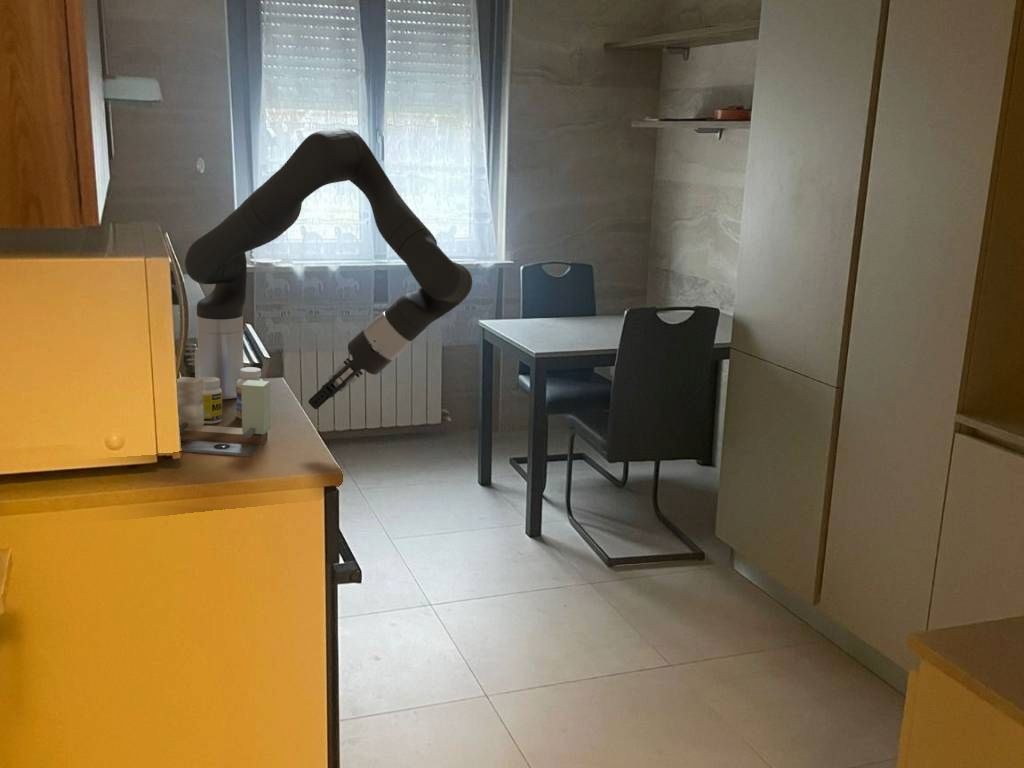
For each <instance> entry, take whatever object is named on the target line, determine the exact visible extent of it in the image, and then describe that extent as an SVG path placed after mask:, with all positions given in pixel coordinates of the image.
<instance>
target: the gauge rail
mask: <svg viewBox="0 0 1024 768" xmlns="http://www.w3.org/2000/svg"><path fill="white" fill-rule="evenodd" d="M176 380H177V390H178V413H179V427H180V436H181V439H188V440H202V441H215V442H229V443H242V444H255V445H260V447H262V446H263V445H264V444H266V442H268V431H267V432H266V433H265V434H253V435H252V436H250V437H249V438H245V434H244V433H242V427H235V426H233V427H231V426H221V425H220V426H218V425H208V424H206V425H205V424H204V410H203V378H195V377H188V376H181V377H179V378H177V379H176Z"/></svg>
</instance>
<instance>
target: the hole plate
mask: <svg viewBox="0 0 1024 768" xmlns="http://www.w3.org/2000/svg"><path fill="white" fill-rule="evenodd" d="M260 447H261V446H260V445H255V444H242V443H229V442H215V441H202V440H188V439H181V448H182V452H181V453H185V452H186V453H193V452H197V453H196V454H207V453H210V454H209V455H220V454H226V455H225V456H233V455H235V456H236V457H237V456H239V457H246V456H247V457H248V456H249V458H251V457H252V456H253V455H254V454H255V453H256V452H258V450H259V449H260ZM212 453H214V454H212ZM253 453H254V454H253ZM235 456H234V457H235Z"/></svg>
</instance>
